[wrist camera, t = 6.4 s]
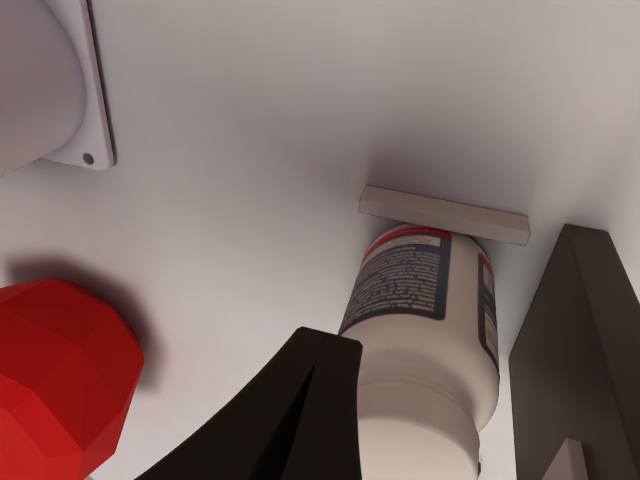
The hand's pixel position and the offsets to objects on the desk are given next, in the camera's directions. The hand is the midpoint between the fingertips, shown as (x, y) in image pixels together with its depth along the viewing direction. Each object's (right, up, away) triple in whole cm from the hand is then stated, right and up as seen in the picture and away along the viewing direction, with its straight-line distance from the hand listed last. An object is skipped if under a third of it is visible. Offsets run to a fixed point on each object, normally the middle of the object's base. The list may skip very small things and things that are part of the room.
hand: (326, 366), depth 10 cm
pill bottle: (+4, +1, +10) cm, 11 cm away
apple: (-14, -2, +18) cm, 23 cm away
